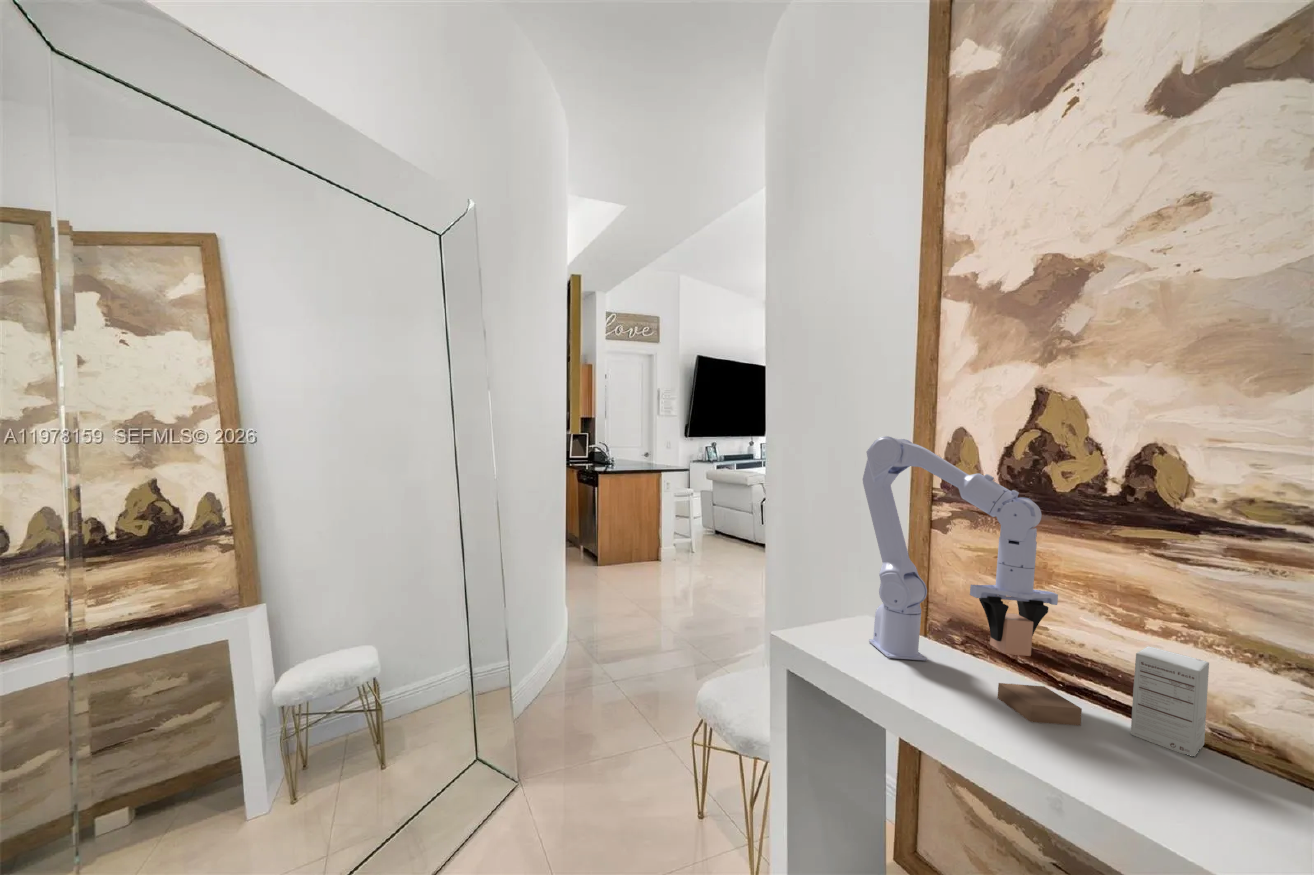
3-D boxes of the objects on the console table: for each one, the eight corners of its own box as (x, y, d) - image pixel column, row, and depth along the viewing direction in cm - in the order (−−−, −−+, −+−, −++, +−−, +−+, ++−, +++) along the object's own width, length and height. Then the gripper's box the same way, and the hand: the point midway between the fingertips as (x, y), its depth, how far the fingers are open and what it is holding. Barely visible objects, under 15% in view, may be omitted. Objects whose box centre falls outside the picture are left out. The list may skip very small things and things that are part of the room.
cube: (989, 644, 101) (992, 611, 101) (1014, 646, 101) (1016, 614, 101) (1004, 653, 97) (1007, 619, 97) (1030, 656, 97) (1033, 621, 97)
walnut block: (997, 700, 94) (998, 683, 94) (1042, 704, 94) (1044, 686, 94) (1030, 724, 86) (1031, 704, 86) (1080, 727, 86) (1081, 708, 86)
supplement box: (1141, 723, 89) (1147, 644, 89) (1205, 746, 83) (1211, 661, 83) (1128, 734, 85) (1134, 652, 85) (1194, 759, 79) (1201, 670, 79)
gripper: (988, 566, 96) (982, 644, 95) (1072, 573, 95) (1066, 652, 95) (966, 558, 103) (960, 631, 102) (1044, 564, 102) (1039, 638, 102)
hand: (1010, 640), depth 99 cm, fingers closed on cube, 4 cm apart
